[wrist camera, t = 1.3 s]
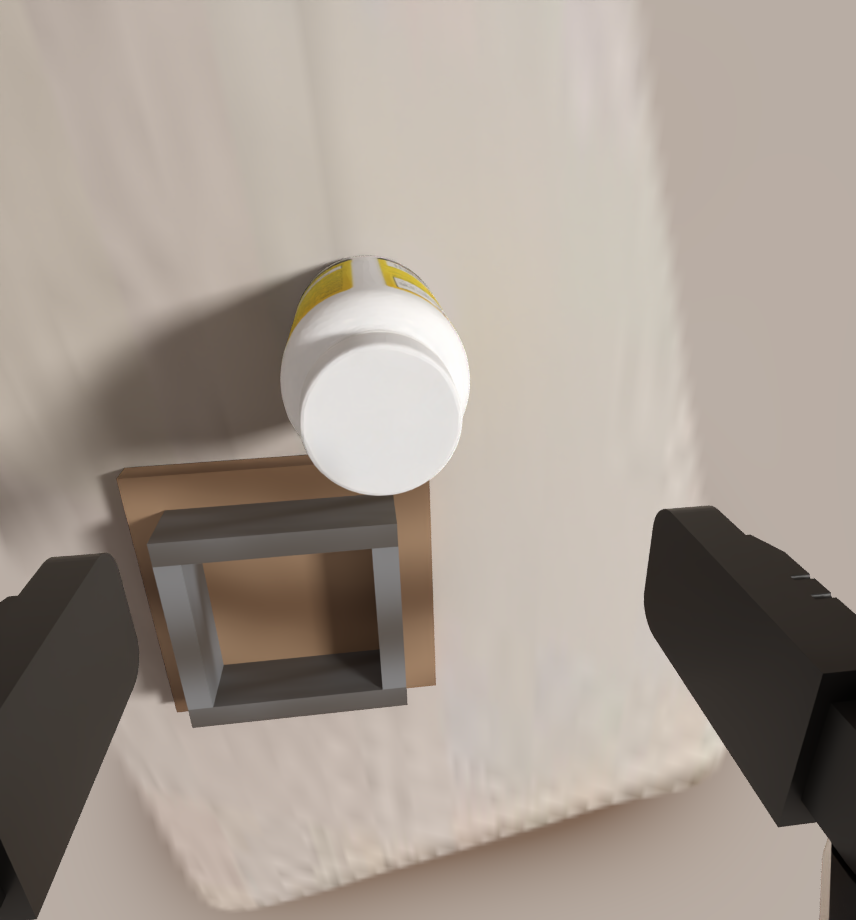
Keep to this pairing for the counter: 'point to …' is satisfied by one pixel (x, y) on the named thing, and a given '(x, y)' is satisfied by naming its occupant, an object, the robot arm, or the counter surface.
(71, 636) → the robot arm
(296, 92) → the counter surface
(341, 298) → the supplement bottle
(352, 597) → the socket base
